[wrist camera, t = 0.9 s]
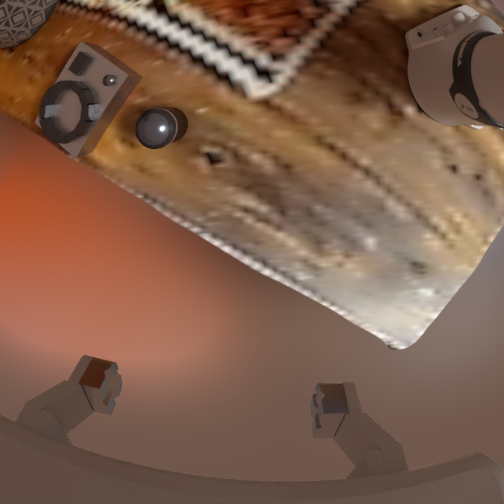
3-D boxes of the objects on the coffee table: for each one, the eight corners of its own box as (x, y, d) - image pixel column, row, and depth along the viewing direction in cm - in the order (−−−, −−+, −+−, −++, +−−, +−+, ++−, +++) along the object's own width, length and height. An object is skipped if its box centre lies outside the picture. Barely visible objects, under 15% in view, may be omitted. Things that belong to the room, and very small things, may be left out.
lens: (168, 100, 40) (150, 100, 33) (195, 121, 41) (182, 125, 34) (147, 128, 41) (126, 133, 35) (173, 149, 43) (156, 158, 36)
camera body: (97, 45, 35) (74, 39, 29) (142, 77, 38) (122, 74, 32) (52, 118, 40) (27, 124, 34) (92, 152, 43) (69, 161, 37)
